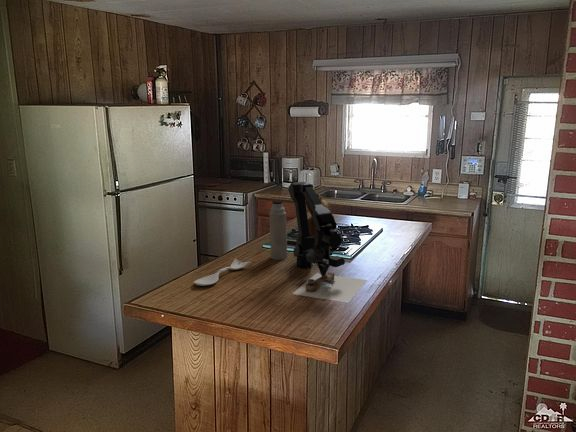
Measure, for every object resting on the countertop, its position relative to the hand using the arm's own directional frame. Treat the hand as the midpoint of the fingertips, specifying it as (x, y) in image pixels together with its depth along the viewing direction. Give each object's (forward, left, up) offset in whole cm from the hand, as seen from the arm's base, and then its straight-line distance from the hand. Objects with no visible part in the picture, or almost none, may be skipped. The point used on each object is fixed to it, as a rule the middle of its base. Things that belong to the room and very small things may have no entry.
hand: (323, 276), depth 205 cm
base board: (+6, -7, -2) cm, 9 cm away
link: (+1, -6, -1) cm, 6 cm away
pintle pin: (0, -13, +2) cm, 13 cm away
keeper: (+7, -12, -1) cm, 14 cm away
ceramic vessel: (-18, +40, -2) cm, 44 cm away
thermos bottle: (-32, +22, -2) cm, 39 cm away
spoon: (-43, -11, -2) cm, 45 cm away
